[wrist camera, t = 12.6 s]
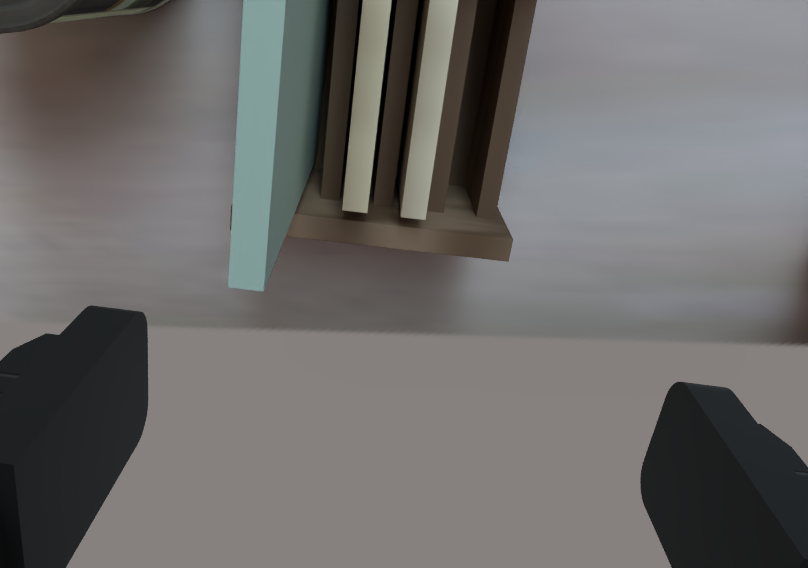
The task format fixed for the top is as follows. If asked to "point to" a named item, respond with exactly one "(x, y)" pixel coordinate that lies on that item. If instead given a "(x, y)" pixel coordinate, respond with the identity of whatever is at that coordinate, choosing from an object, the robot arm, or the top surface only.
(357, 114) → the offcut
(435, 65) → the board
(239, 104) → the tall sheet
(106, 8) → the coffee can
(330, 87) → the rack
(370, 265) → the top surface
